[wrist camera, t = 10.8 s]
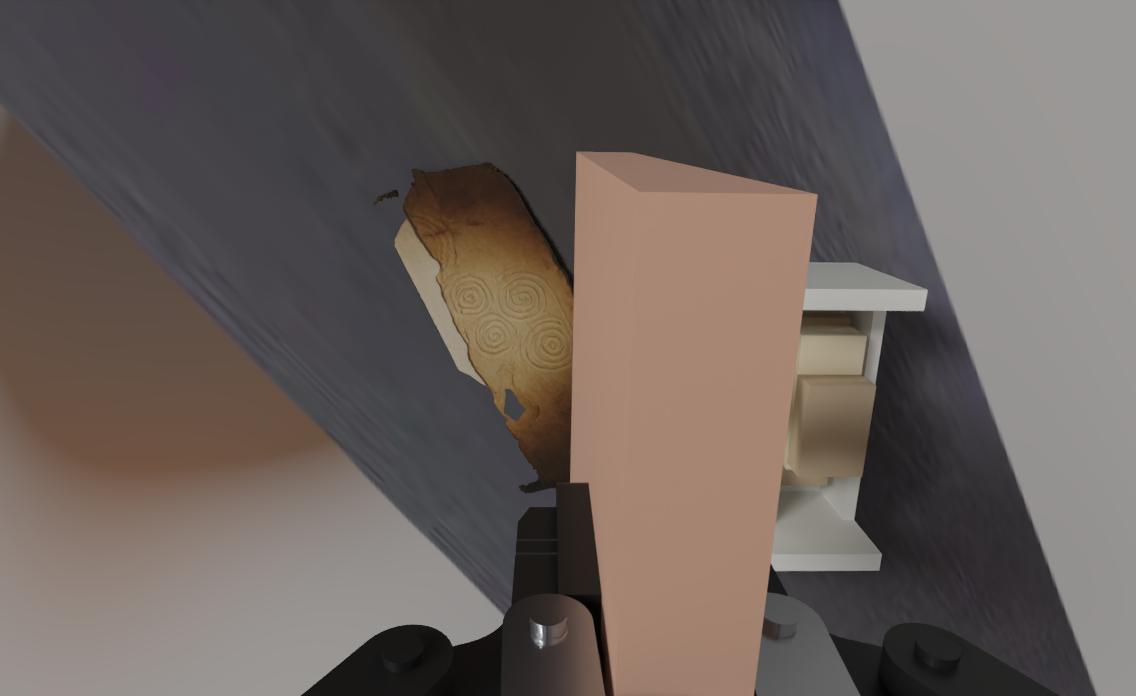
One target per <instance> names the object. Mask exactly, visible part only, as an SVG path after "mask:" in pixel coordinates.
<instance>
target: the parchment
mask: <svg viewBox="0 0 1136 696" xmlns="http://www.w3.org/2000/svg"><path fill="white" fill-rule="evenodd" d="M412 173H413V177H414V179H415V184H414V183H413V182H412V183H411V185H412V188H410V190H409V192H408V194H407V197H406V198H405V202H404V204H403V211H404V213H405V214H406V216H407V219H406V220H405V222H404V223H403V224H402V226H401V228H400V231H399V233H398V235H397V237H396V239H395V241H396V242H395V247H396V249H397V251H398V253H399V255H400V257H401V259H402V261H403V263H404V265H405V267H406V269H407V271H408V272H409V274H410V276H411V278H412V280H413V282H414V284H415V286H416V288H417V290H418V292H419V293H420V295H421V298H422V300H424V304H425V305H426V307H427V309H428V311H429V313H430V315H431V317H432V318H433V321H434V323H435V325H436V326H437V328H438V330H439V332H440V334H441V337H442V338H443V340H444V342H445V344H446V346H447V348H448V350H449V352H450V354H451V355H452V358H453V359H454V361H455V364H456V366H457V368H458V370H459V371H462V372H464V373H466V374H468V375H470V376H472V377H473V378H474V379H476V380H477V381H478V382H480V383H481V384H484V385H486V386H487V387H489V389H490V390H491V392H492V394H493V395H494V399H495V401H494V403H495V405H496V407H497V408H498V409H499V411H500V412H501V413H502V414H503V410H504V405H505V397H506V394H505V389H506V388H507V389H512V391H513V392H514V393H515V394H514V395H515V396H516V397H517V398H518V401H519V402H520V403H521V404H522V405H523V406H524V408H525V409H526V411H525V412H524V413H523V414H522V416H521V417H520V419H519V420H518V421H515V420H512V419H511V418H510V416H508V415H505V414H503V415H504V416H505V417H506V418H507V420H508V421H507V422H506V424H507V428H508V430H509V431H510V432H511V434H512V435H513V436H514V438H515V439H517V440H519V448H520V449H521V451H522V452H523V454H524V456H525V457H526V459H527V460H528V462H529V463H530V464H531V465H532V466H533V469H536V470H537V472H536V473H537V474H538V478H539V479H538V480H537V481H536V482H533V483H530V484H528V486H527V485H526V486H524V485H521V486H519V488H520V489H521V491H524V492H525V493H527V492H532V491H537V490H540V489H545V488H547V487H553V488H556V483H570V465H571V414H572V363H573V311H574V290H573V287H572V285H571V284H570V281H569V277H568V273H567V272H566V271H565V270H564V268H563V267H561V266H560V265H559V263H558V261H557V258H556V256H555V254H554V252H553V251H552V249H551V247H550V244H549V242H547V240H546V238H545V237H544V235H543V234H542V233H541V231H540V229H539V227H538V226H537V225H536V224H535V222H534V221H533V218H532V217H531V215H530V213H529V212H528V210H527V208H526V207H525V205H524V203H523V201H522V198H521V197H520V196H519V194H518V192H517V191H516V190H515V188H514V186H513V185H512V184H511V182H510V181H509V180H508V178H506V177H505V176H504V175H503V173H502V171H500V172H498V169H497V168H495V167H494V166H493V165H492V164H491V163H487V162H485V163H483V164H481V165H477V166H474V165H472V166H465V167H461V168H455V169H452V170H449V169H446V170H444V171H439V172H427V173H426V172H424V173H423V172H421V170H418V169H413V170H412ZM395 196H396V197H398V192H397V190H394V191H392V192H390V193H387V194H384V195H383V196H378V197H377V201H383V198H384V197H386V198H390V197H391V198H392V197H395ZM376 203H377V202H375V203H373V204H374V205H375V204H376ZM535 480H536V479H535Z"/></svg>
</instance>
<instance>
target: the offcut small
mask: <svg viewBox="0 0 1136 696" xmlns="http://www.w3.org/2000/svg"><path fill="white" fill-rule="evenodd" d="M875 392H876V385H875V384H873V383H872V382H871V381H869V380H868V379H866V378H865V377H864V376H862V375H809V374H798V375H797V383H796V392H795V400H794V408H793V417H792V425H791V433H790V441H789V450H788V458H787V463H788V465H789V466H790V467H791V469H792V470H793V471H794V472H795V474H796V475H797V476H798V477H862V474H863V468H864V462H865V455H866V449H867V443H868V436H869V430H870V424H871V417H872V411H873V404H874V398H875Z"/></svg>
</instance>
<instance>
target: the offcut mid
mask: <svg viewBox="0 0 1136 696" xmlns="http://www.w3.org/2000/svg"><path fill="white" fill-rule="evenodd" d="M866 340H867V336H866V335H865V334H863V333H861V332H860V331H858V330H856V329H855V328H853V327H851V326H849V325H801V328H800V336H799V344H798V352H797V360H796V368H795V376H794V383H793V391H792V399H791V407H790V415H789V423H788V431H787V438H786V446H785V454H784V462H783V466H784V467H785V469H786V470H792V469H791V467H790V466H789V465H788V463H787V458H788V450H789V441H790V433H791V425H792V417H793V408H794V400H795V392H796V383H797V375H798V374H809V375H861V374H862V367H863V360H864V353H865V347H866Z"/></svg>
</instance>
